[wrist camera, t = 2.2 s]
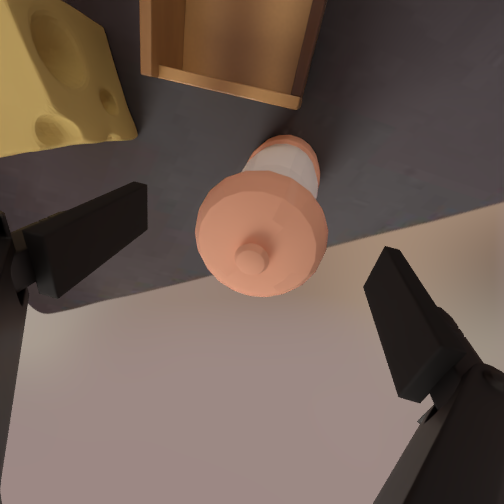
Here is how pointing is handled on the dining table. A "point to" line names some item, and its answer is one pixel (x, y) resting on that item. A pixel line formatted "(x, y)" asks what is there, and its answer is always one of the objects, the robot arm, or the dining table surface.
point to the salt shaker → (265, 221)
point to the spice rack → (232, 45)
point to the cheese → (57, 80)
